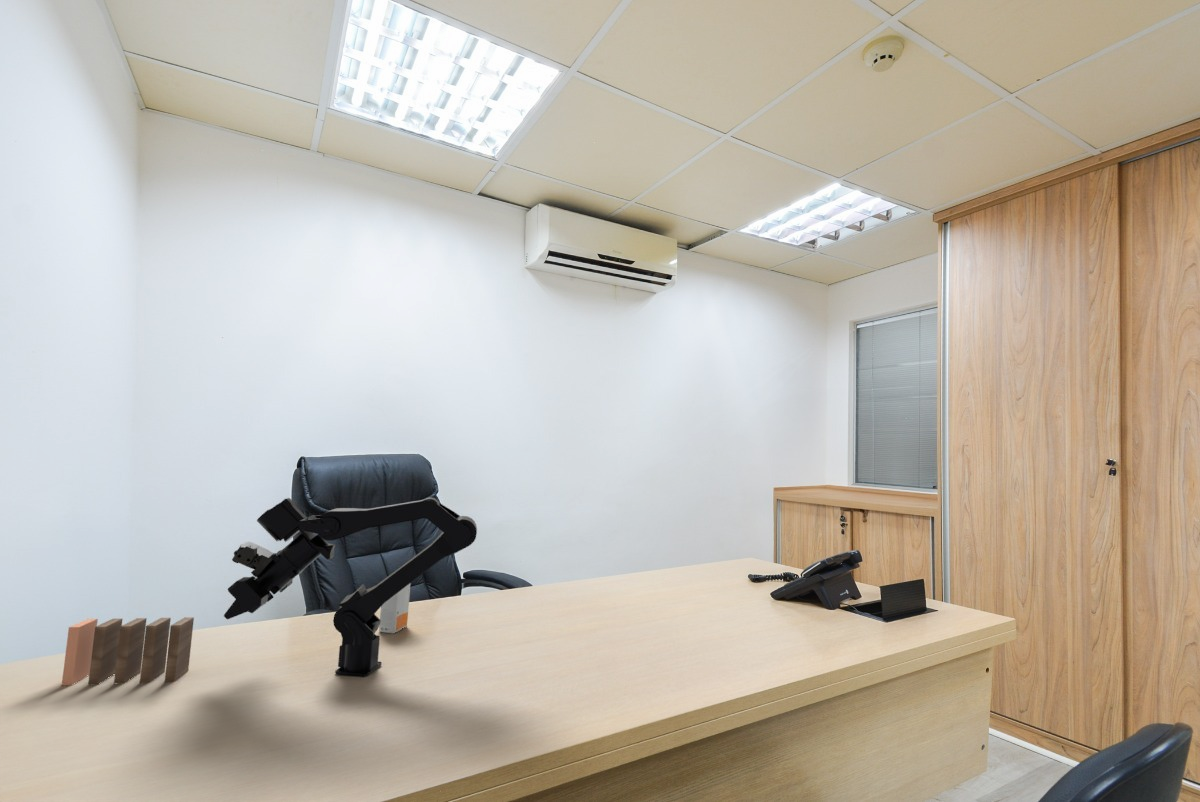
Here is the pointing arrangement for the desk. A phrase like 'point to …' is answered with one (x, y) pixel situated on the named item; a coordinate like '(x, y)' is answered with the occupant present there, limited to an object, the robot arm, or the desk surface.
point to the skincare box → (395, 612)
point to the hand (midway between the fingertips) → (226, 617)
